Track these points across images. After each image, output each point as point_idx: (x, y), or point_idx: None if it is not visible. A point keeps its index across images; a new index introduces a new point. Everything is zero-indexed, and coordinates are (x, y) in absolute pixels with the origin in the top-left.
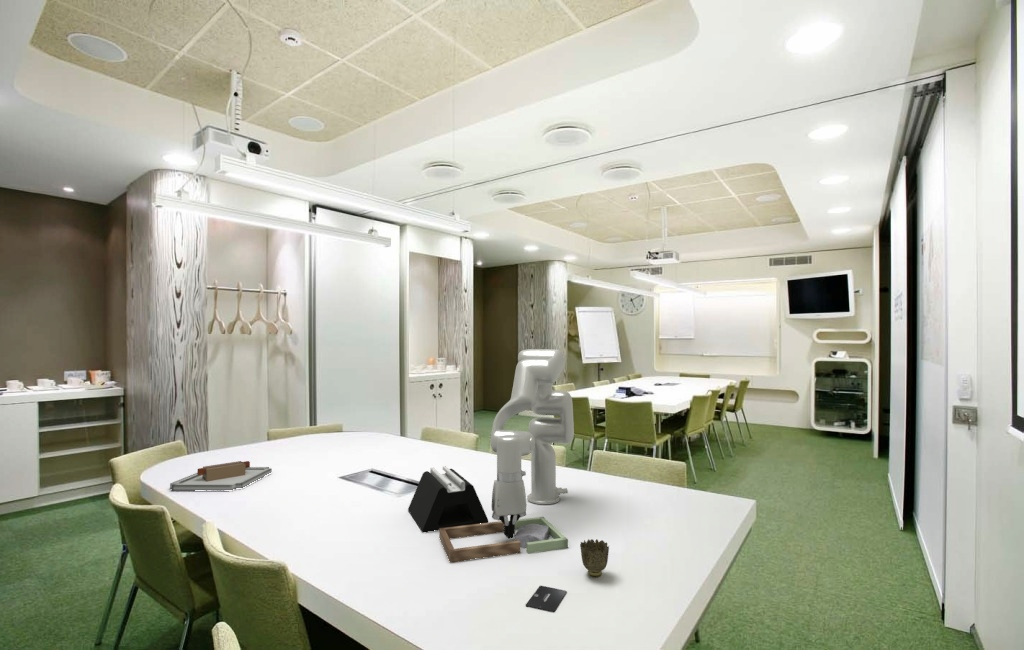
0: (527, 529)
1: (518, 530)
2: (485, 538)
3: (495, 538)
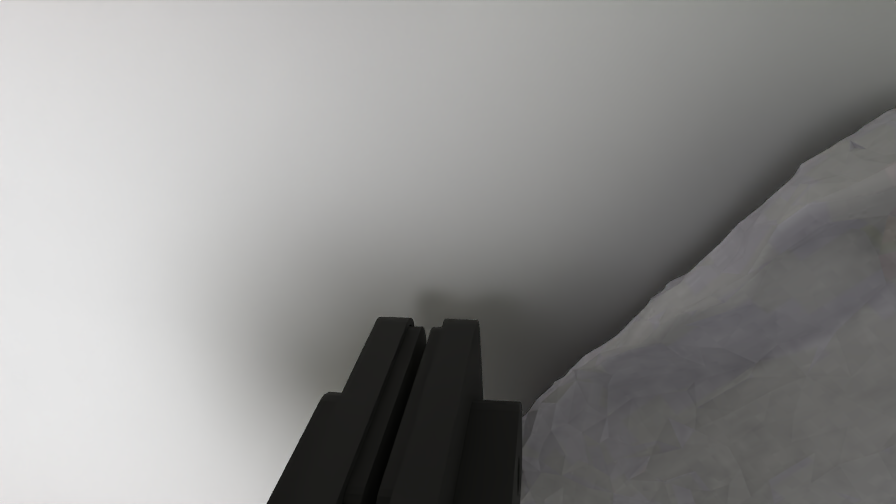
0: (849, 494)
1: (668, 351)
2: (74, 121)
3: (242, 171)
